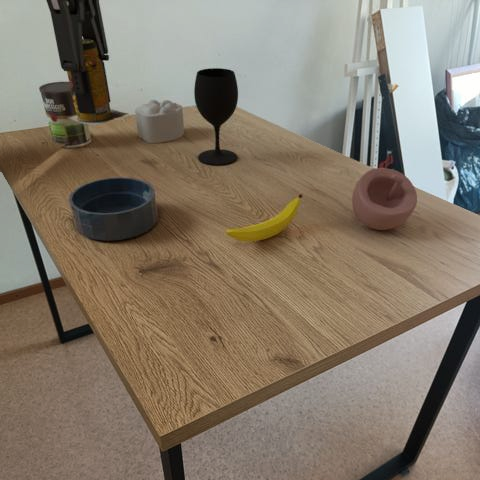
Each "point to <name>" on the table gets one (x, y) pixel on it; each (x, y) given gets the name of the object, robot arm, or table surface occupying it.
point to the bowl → (114, 208)
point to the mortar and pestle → (383, 199)
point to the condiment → (94, 88)
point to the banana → (267, 225)
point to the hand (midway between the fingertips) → (95, 106)
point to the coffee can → (63, 115)
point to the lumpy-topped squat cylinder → (159, 121)
